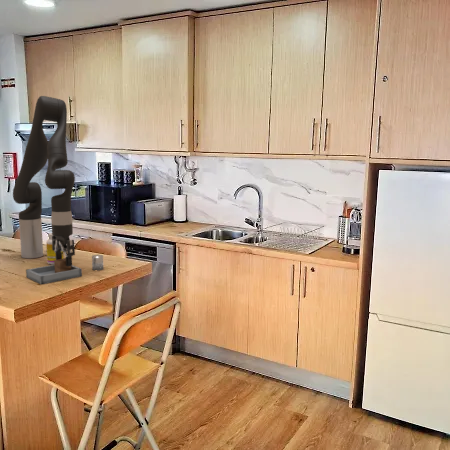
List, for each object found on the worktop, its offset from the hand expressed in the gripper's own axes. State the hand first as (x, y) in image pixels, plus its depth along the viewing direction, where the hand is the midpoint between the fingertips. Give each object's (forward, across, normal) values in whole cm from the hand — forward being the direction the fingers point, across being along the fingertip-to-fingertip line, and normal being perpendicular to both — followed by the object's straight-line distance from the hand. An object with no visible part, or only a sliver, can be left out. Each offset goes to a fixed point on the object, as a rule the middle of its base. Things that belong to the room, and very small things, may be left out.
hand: (63, 264), depth 184 cm
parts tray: (+4, 0, +4) cm, 6 cm away
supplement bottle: (+5, +20, -6) cm, 21 cm away
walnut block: (+3, 0, +1) cm, 3 cm away
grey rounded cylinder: (+4, -1, -14) cm, 15 cm away
